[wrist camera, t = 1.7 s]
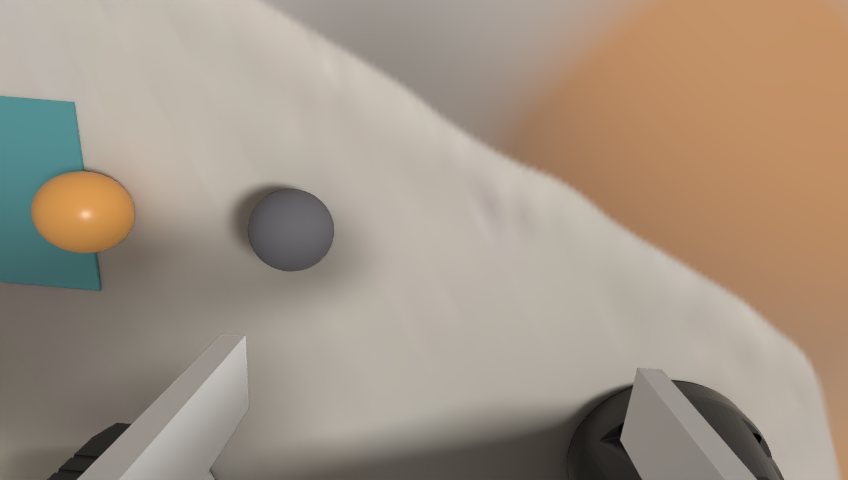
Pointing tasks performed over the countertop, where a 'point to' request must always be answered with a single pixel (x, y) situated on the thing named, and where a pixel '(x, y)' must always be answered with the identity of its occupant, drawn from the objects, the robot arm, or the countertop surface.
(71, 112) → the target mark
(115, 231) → the object ball
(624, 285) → the countertop surface
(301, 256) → the gray ball
